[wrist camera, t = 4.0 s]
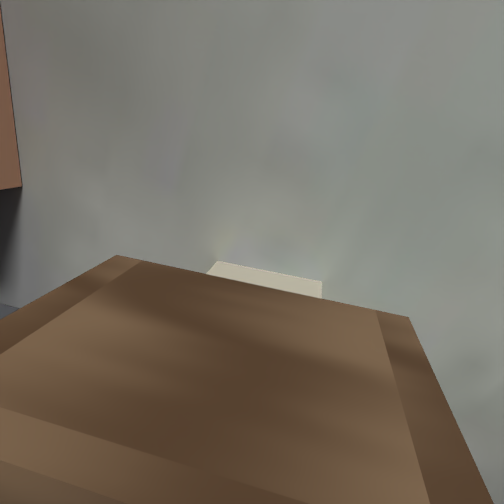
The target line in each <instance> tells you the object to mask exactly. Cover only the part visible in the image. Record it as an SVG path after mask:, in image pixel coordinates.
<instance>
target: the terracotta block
mask: <svg viewBox="0 0 504 504" xmlns="http://www.w3.org/2000/svg"><path fill="white" fill-rule="evenodd" d="M21 186H22V182H21V174H20V166H19V157H18V149H17V141H16V133H15V125H14V116H13V108H12V100H11V92H10V83H9V75H8V67H7V59H6V50H5V42H4V34H3V26H2V18H1V9H0V190H2V189H8V188H14V187H21Z"/></svg>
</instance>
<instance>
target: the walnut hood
mask: <svg viewBox="0 0 504 504" xmlns="http://www.w3.org/2000/svg"><path fill="white" fill-rule="evenodd" d="M0 504H494V503H493V501H492V499H491V497H490V495H489V492H488V490H487V488H486V486H485V484H484V481H483V479H482V477H481V475H480V473H479V470H478V468H477V466H476V464H475V462H474V460H473V457H472V455H471V453H470V451H469V449H468V446H467V444H466V442H465V440H464V438H463V435H462V433H461V431H460V429H459V427H458V425H457V422H456V420H455V418H454V416H453V414H452V411H451V409H450V407H449V405H448V403H447V400H446V398H445V396H444V394H443V392H442V390H441V387H440V385H439V383H438V381H437V379H436V376H435V374H434V372H433V370H432V368H431V365H430V363H429V361H428V359H427V357H426V355H425V352H424V350H423V348H422V346H421V344H420V341H419V339H418V337H417V335H416V333H415V330H414V328H413V326H412V324H411V322H410V320H409V317H405V316H400V315H396V314H391V313H386V312H382V311H377V310H372V309H368V308H363V307H358V306H353V305H349V304H344V303H339V302H335V301H330V300H325V299H321V298H316V297H311V296H307V295H302V294H297V293H293V292H288V291H283V290H278V289H274V288H269V287H264V286H260V285H255V284H250V283H246V282H241V281H236V280H232V279H227V278H222V277H218V276H213V275H208V274H203V273H199V272H194V271H189V270H185V269H180V268H175V267H171V266H166V265H161V264H157V263H152V262H147V261H143V260H138V259H133V258H128V257H124V256H119V255H116V256H114V257H112V258H110V259H108V260H107V261H105V262H103V263H101V264H99V265H98V266H96V267H94V268H92V269H90V270H89V271H87V272H85V273H83V274H81V275H80V276H78V277H76V278H74V279H72V280H71V281H69V282H67V283H65V284H63V285H62V286H60V287H58V288H56V289H54V290H53V291H51V292H49V293H47V294H45V295H44V296H42V297H40V298H38V299H36V300H35V301H33V302H31V303H29V304H27V305H26V306H24V307H22V308H20V309H18V310H17V311H15V312H13V313H11V314H9V315H8V316H6V317H4V318H2V319H0Z"/></svg>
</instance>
